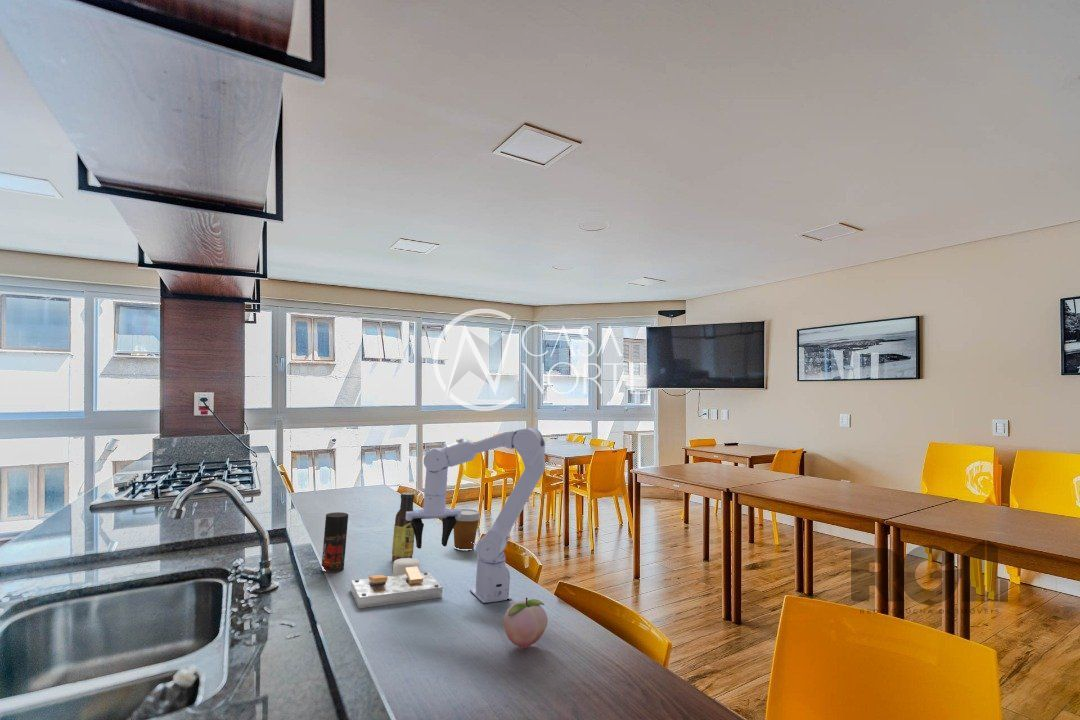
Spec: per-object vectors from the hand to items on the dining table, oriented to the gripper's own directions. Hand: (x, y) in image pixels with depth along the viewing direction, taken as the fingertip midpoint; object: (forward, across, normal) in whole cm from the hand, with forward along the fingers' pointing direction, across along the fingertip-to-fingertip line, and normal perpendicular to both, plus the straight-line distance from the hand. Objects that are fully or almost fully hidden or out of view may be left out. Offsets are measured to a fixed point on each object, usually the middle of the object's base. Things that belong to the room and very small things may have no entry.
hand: (431, 546), depth 138 cm
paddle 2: (+6, +4, +1) cm, 8 cm away
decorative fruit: (+11, -8, +39) cm, 41 cm away
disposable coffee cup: (+11, -21, -30) cm, 38 cm away
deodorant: (+11, +21, -22) cm, 32 cm away
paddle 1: (+6, +14, +1) cm, 15 cm away
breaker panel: (+10, +9, +2) cm, 14 cm away
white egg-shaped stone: (+11, +4, -10) cm, 15 cm away
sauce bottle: (+11, +1, -24) cm, 26 cm away
